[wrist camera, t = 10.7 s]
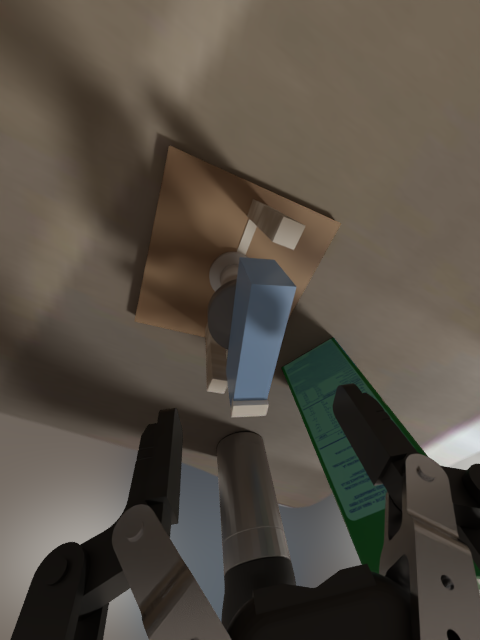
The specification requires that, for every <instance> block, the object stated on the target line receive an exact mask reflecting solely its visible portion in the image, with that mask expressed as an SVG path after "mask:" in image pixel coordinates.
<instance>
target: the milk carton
mask: <svg viewBox="0 0 480 640" xmlns="http://www.w3.org/2000/svg"><path fill="white" fill-rule="evenodd" d="M282 370H283V373H284V375H285V378H286V380H287V382H288V385H289V387H290V390H291V392H292V395H293V397H294V400H295V402H296V405H297V407H298V409H299V412H300V414H301V417H302V419H303V422H304V424H305V427H306V429H307V431H308V434H309V436H310V439H311V441H312V444H313V446H314V449H315V451H316V453H317V456H318V458H319V461H320V463H321V466H322V468H323V471H324V473H325V475H326V478H327V480H328V483H329V485H330V488H331V490H332V493H333V495H334V497H335V500H336V502H337V505H338V507H339V510H340V512H341V515H342V517H343V519H344V522H345V524H346V527H347V529H348V532H349V534H350V537H351V539H352V541H353V544H354V546H355V549H356V551H357V554H358V556H359V559H360V561H361V564H362V565H363V564H368V566H369V568H370V571H371V572H375V573H378V574H379V565H380V557H381V552H382V549H383V545H384V531H385V497H386V491H387V490H386V488H385V487H384V485H383V484H381V485H376V486H374V485H373V483H372V482H371V480H370V478H369V476H368V474H367V473H366V471H365V469H364V467H363V466H362V464H361V462H360V460H359V458H358V457H357V455H356V453H355V451H354V450H353V448H352V446H351V444H350V443H349V441H348V439H347V437H346V435H345V434H344V432H343V430H342V428H341V427H340V425H339V423H338V421H337V419H336V418H335V416H334V413H333V401H334V398H335V394H336V390H337V387H338V386H339V385H344V384H351V383H354V384H356V385H357V386H358V388H359V389H360V390H361V392H362V393H368V394H369V395H370V396H372V397H373V398H374V399H376V400H377V401H378V402H379V404H380V405H381V406H382V407H383V409H384V411H385V412H387V414H388V415H389V416H390V417H391V420H393V421H394V423H395V424H396V425H397V426H398V428H399V429H400V430H401V431H402V433H403V434H404V435H405V437H406V438H407V439H408V440H409V442H410V443H411V444H412V445H413V447H414V448H415V449H416V450H417V451H418V452H419V453H420V454H421V455H424V456H427V455H426V453H425V452H424V451H423V450H422V448H421V447H420V446H419V445H418V443H417V442H416V441H415V440H414V438H413V437H412V436H411V434H410V433H409V432H408V431H407V429H406V428H405V427H404V426H403V424H402V423H401V422H400V421H399V419H398V418H397V417H396V416H395V414H394V413H393V412H392V411H391V409H390V408H389V407H388V405H387V404H386V403H385V402H384V400H383V399H382V398H381V397H380V395H379V394H378V393H377V392H376V390H375V389H374V388H373V387H372V385H371V384H370V383H369V381H368V380H367V379H366V378H365V376H364V375H363V374H362V373H361V371H360V370H359V369H358V368H357V366H356V365H355V364H354V363H353V361H352V360H351V359H350V357H349V356H348V355H347V354H346V352H345V351H344V350H343V349H342V347H341V346H340V345H339V344H338V342H337V341H336V340H335V339H334V338H331V339H329V340H328V341H326V342H324V343H323V344H321V345H319V346H317V347H316V348H314V349H312V350H311V351H309V352H307V353H306V354H304V355H302V356H301V357H299V358H297V359H295V360H294V361H292V362H290V363H289V364H287V365H285V366H284V367H282ZM427 457H428V456H427ZM473 564H474V569H475V574H476V579H477V584H478V589H480V570H479V568H478V567H477V565H476V564H475V562H474V561H473Z"/></svg>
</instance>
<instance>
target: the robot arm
mask: <svg viewBox="0 0 480 640" xmlns="http://www.w3.org/2000/svg"><path fill="white" fill-rule="evenodd" d="M333 413H334V416H335V418H336V419H337V421H338V423H339V425H340V427H341V428H342V430H343V432H344V434H345V435H346V437H347V439H348V441H349V443H350V444H351V446H352V448H353V450H354V451H355V453H356V455H357V457H358V458H359V460H360V462H361V464H362V466H363V467H364V469H365V471H366V473H367V474H368V476H369V478H370V480H371V482H372V483H373V485H374V486H376V485H381V484H383V485H384V487H385V488H386V490H387V491H386V497H385V531H384V545H383V549H382V552H381V557H380V565H379V574H378V573H375V572H371V571H370V568H369V566H368V564H363V565H359V566H355V567H350V568H346V569H342V570H340V571H338V572H337V573H336V574H334V575H333V576H331V577H330V578H329V579H327V580H326V581H325V582H323V583H322V584H321V585H319V586H318V587H316V588H308V587H302V586H296V582H295V576H294V572H293V568H292V563H291V559H290V554H289V550H288V546H287V541H286V537H285V533H284V529H283V525H282V520H281V516H280V512H279V507H278V503H277V499H276V494H275V490H274V486H273V481H272V477H271V473H270V468H269V464H268V459H267V455H266V451H265V446H264V442H263V439H262V438H261V437H260V436H259V435H258V434H255V433H251V432H240V433H235V434H232V435H229V436H227V437H225V438H224V439H222V440H221V441H220V442H219V444H218V446H217V463H218V480H219V497H220V513H221V531H222V546H223V563H224V580H225V594H224V601H223V609H222V623H221V621H220V619H219V618H218V616H217V615H216V613H215V611H214V610H213V608H212V606H211V605H210V603H209V601H208V600H207V598H206V596H205V595H204V593H203V591H202V590H201V588H200V586H199V585H198V583H197V581H196V580H195V578H194V576H193V575H192V573H191V572H190V570H189V569H188V567H187V566H186V564H185V563H184V561H183V559H182V558H181V556H180V555H179V553H178V551H177V549H176V548H175V546H174V545H173V543H172V541H171V540H170V529H171V525H172V524H177V523H178V515H179V497H180V479H181V461H182V442H183V435H182V427H181V423H180V419H179V415H178V411H177V408H173V409H166V410H160V412H159V416H158V422H157V423H155V424H149V425H148V426H147V428H146V429H145V431H144V433H143V434H142V436H141V440H140V445H139V451H138V455H137V461H136V464H135V469H134V474H133V478H132V483H131V488H130V492H129V497H128V501H127V505H126V507H125V509H124V512H123V513H122V515H121V516H120V518H119V519H118V520H117V521H116V522H115V523H114V524H113V525H112V526H111V527H110V528H108V529H107V530H105V531H104V532H102V533H100V534H99V535H97V536H95V537H93V538H91V539H90V540H88V541H86V542H84V543H83V544H81V545H79V544H78V543H75V542H68V543H65V544H62V545H60V546H58V547H57V548H56V549H54V550H53V551H52V552H51V553H49V554H48V555H47V557H46V558H45V559H44V560H43V561H42V563H41V564H40V566H39V567H38V569H37V571H36V572H35V574H34V577H33V579H32V582H31V585H30V587H29V590H28V593H27V596H26V598H25V601H24V604H23V607H22V609H21V612H20V615H19V618H18V621H17V623H16V626H15V629H14V632H13V634H12V638H11V640H103V636H104V629H105V624H106V617H107V611H108V605H109V602H110V601H112V600H113V599H115V598H116V597H118V596H119V595H120V594H122V593H123V592H125V591H126V590H128V589H129V588H131V590H132V592H133V594H134V597H135V599H136V602H137V604H138V606H139V609H140V611H141V614H142V621H143V625H144V628H145V630H146V633H147V636H148V638H149V640H480V595H479V589H478V584H477V579H476V574H475V569H474V564H473V561H474V562H475V564H476V565H477V567H478V568H479V570H480V464H474V465H472V466H471V467H470V468H469V469H468V470H461V469H456V468H450V467H444V466H440V465H439V464H438V463H436V462H435V461H434V460H432V459H431V458H429V457H427V456H424V455H421V454H420V453H419V452H418V451H417V450H416V449H415V448H414V447H413V445H412V444H411V443H410V442H409V440H408V439H407V438H406V437H405V435H404V434H403V433H402V431H401V430H400V429H399V428H398V426H397V425H396V424H395V423H394V421H393V420H391V417H390V416H389V415H388V414H387V412H385V411H384V409H383V407H382V406H381V405H380V404H379V402H378V401H377V400H376V399H374V398H373V397H372V396H370V395H369V394H368V393H362V392H361V390H360V389H359V388H358V386H357V385H356V384H354V383H351V384H344V385H339V386H338V387H337V390H336V394H335V398H334V401H333Z"/></svg>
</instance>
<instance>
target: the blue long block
mask: <svg viewBox="0 0 480 640" xmlns="http://www.w3.org/2000/svg"><path fill="white" fill-rule="evenodd" d="M295 291H296V285H295V284H294V283H293V282H292V280H291V279H290V278H289V277H288V276H287V274H286V273H285V272H284V271H283V269H282V268H281V267H280V266H279V265H278V263H277V262H276V261H275V260H271V259H258V258H245V257H239V266H238V274H237V279H234V280H231V281H229V282H227V283H225V284H223V285H222V286H221V287H219V288H218V289H217V290H216V291H215V293H214V294H213V295H212V297H211V299H210V301H209V304H208V310H207V314H208V328H209V332H210V334H211V336H212V338H213V339H214V340H215V341H216V342H217V343H218V344H219V345H220V346H222V347H223V348H225V349H228V357H227V365H226V375H227V383H228V391H229V399H230V407H231V417H248V416H266V413H267V410H268V406H269V403H268V400H267V397H268V394H269V390H270V386H271V382H272V378H273V375H274V371H275V367H276V363H277V359H278V355H279V352H280V348H281V344H282V340H283V336H284V333H285V329H286V325H287V321H288V317H289V314H290V310H291V306H292V302H293V298H294V295H295Z"/></svg>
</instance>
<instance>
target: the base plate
mask: <svg viewBox="0 0 480 640" xmlns="http://www.w3.org/2000/svg"><path fill="white" fill-rule="evenodd" d="M340 225H341V223H339V222H337V221H335V220H332V219H330V218H328V217H326V216H324V215H321V214H319V213H317V212H315V211H313V210H310V209H308V208H306V207H304V206H302V205H299V204H297V203H295V202H293V201H291V200H288V199H286V198H284V197H282V196H280V195H277V194H275V193H273V192H271V191H269V190H266V189H264V188H262V187H260V186H258V185H255V184H253V183H251V182H249V181H247V180H244V179H242V178H240V177H238V176H236V175H233V174H231V173H229V172H227V171H225V170H222V169H220V168H218V167H216V166H214V165H211V164H209V163H207V162H205V161H203V160H201V159H198V158H196V157H194V156H192V155H190V154H187V153H185V152H183V151H181V150H179V149H176V148H174V147H172V146H170V145H169V149H168V154H167V159H166V164H165V169H164V174H163V179H162V185H161V190H160V195H159V200H158V205H157V210H156V215H155V220H154V225H153V230H152V235H151V240H150V245H149V250H148V255H147V260H146V266H145V271H144V276H143V281H142V286H141V291H140V296H139V301H138V306H137V311H136V316H135V322H139V323H144V324H148V325H153V326H157V327H162V328H166V329H171V330H175V331H179V332H184V333H188V334H193V335H197V336H202V337H205V340H206V373H207V391H209V392H216V393H222V394H224V392H225V390H226V388H227V386H228V383H227V375H226V365H227V359H226V351H225V348H223V347H222V346H220V345H219V344H218V343H217V342H216V341H215V340H214V339H213V338H212V336H211V334H210V332H209V328H208V314H207V310H208V304H209V301H210V299H211V297H212V295H213V294H214V293H215V291H216V290H217V289H218V288H219V287H221V286H222V285H223V284H225V283H227V282H229V281H231V280H234V279H237V274H238V266H239V257H245V258H258V259H271V260H275V261H276V262H277V263H278V265H279V266H280V267H281V268H282V269H283V271H284V272H285V273H286V274H287V276H288V277H289V278H290V279H291V280H292V282H293V283H294V284H295V285H296V291H295V295H294V298H293V302H292V306H291V310H290V314H289V317H290V315H291V314H292V312H293V310H294V308H295V306H296V305H297V303H298V301H299V299H300V297H301V296H302V294H303V292H304V290H305V288H306V287H307V285H308V283H309V281H310V279H311V277H312V276H313V274H314V272H315V270H316V268H317V267H318V265H319V263H320V261H321V259H322V258H323V256H324V254H325V252H326V250H327V249H328V247H329V245H330V243H331V241H332V240H333V238H334V236H335V234H336V232H337V231H338V229H339V227H340ZM289 317H288V319H289Z"/></svg>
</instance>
